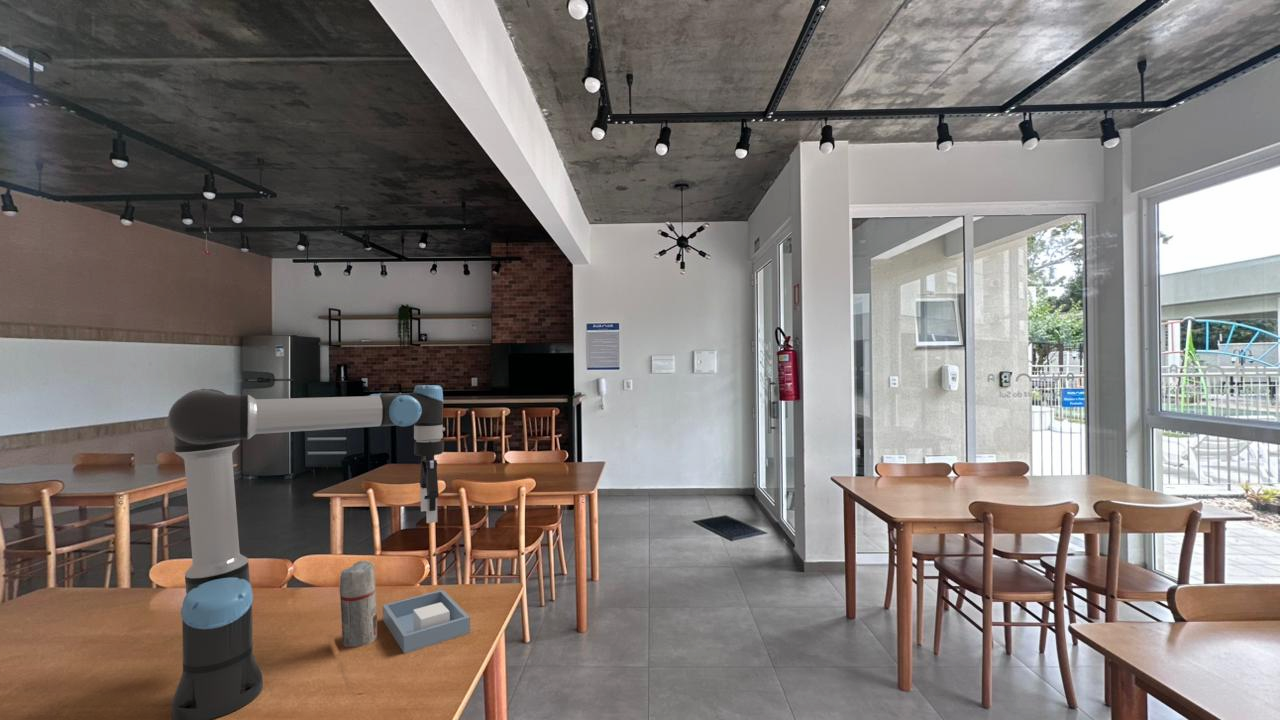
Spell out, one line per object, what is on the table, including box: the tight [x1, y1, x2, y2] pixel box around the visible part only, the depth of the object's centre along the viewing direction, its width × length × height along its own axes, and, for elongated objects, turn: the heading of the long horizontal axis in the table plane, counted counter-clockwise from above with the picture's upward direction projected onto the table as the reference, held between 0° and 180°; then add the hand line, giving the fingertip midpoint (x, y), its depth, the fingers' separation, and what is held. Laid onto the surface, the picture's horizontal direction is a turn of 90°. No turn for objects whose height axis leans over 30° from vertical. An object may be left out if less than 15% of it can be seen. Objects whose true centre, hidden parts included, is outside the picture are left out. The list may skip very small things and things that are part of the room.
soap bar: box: [413, 602, 450, 632], centre depth 140 cm, size 7×7×6 cm
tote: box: [382, 589, 471, 654], centre depth 144 cm, size 16×22×5 cm
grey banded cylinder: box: [339, 560, 378, 648], centre depth 138 cm, size 8×8×20 cm
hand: (428, 516), depth 154 cm, fingers open, 13 cm apart
